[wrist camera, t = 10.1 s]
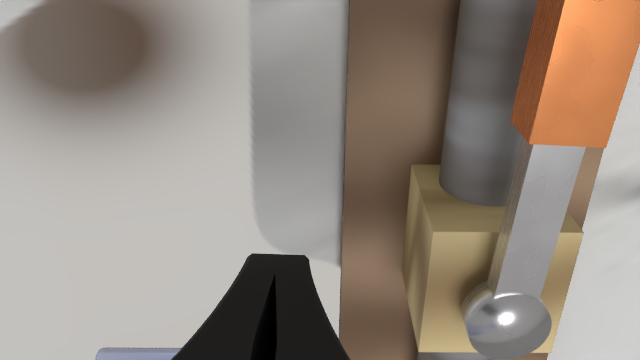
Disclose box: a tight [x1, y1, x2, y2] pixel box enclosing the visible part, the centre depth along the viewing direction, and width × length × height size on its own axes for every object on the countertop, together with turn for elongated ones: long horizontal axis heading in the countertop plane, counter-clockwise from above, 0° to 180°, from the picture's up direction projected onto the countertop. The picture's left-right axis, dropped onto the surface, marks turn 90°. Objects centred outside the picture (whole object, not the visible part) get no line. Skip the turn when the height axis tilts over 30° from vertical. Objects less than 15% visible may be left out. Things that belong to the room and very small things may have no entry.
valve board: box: [339, 0, 604, 360], centre depth 22 cm, size 24×10×6 cm, turn 0°
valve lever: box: [461, 0, 640, 360], centre depth 16 cm, size 13×3×2 cm, turn 177°
